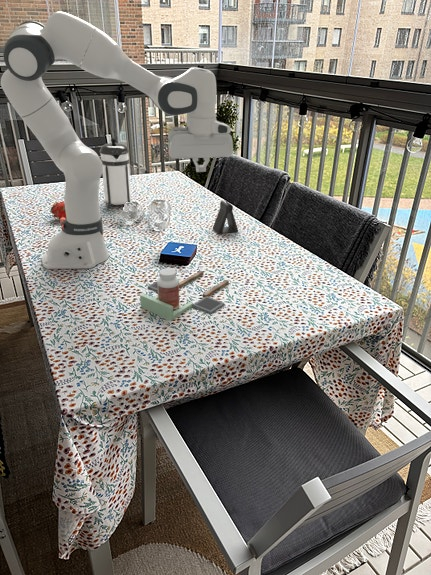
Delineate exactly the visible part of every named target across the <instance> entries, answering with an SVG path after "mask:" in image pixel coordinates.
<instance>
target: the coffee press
mask: <svg viewBox="0 0 431 575" xmlns="http://www.w3.org/2000/svg"><path fill="white" fill-rule="evenodd" d="M110 141H111V142H108V143H105V144H103V145H101V147H100V149H99V154H100V159H101V161H102V164H103V173H102V182H103V192H104V193H103V194H104V201H105V203H107V205H106V208H107V209H112V207H113V205H115V206H116V205H117V206H118V205H119V206H120V205H125V204H124V203H126V202H131V201H132V193H131V192H132V190H131V188H132V186H131V176H130V175H131V174H130V173H131V172H130V158H129V156H130V155H129V153H130V149H129V148H128V146H127V145H125V144H123V143H118V142H117V139H116V138H115V137H112V138H111V139H110Z"/></svg>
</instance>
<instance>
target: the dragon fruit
mask: <svg viewBox="0 0 431 575" xmlns="http://www.w3.org/2000/svg"><path fill="white" fill-rule="evenodd" d="M49 212H50V214H52V215H51V216H52V218H54V219H57V218H58V220H59V221H60V219H61V218H62V217H64V218H65V219H67V218H66V210H65V203H64V200H63V201H59V202H58V201H56V202H55V203H54V204H52V206H51V207H50V210H49Z"/></svg>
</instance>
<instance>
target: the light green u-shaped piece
mask: <svg viewBox="0 0 431 575" xmlns="http://www.w3.org/2000/svg"><path fill="white" fill-rule="evenodd" d="M139 299H140V308H142V309H144V310H146V311H149V312H150V313H153V314H154V315H157V316H159V317H162V318H164V319H166V320H168V321H172V320H174V319H175V318H177V317H179V316H180V315H182V314H183V313H185V312H187V311H189V309H191V308H192V307H193V304H194V302H192V301H189V302H187V303H186V304H183V305H182V306H181V307H178V308H177V309H175V311H174V310H173V306H171V305H169V304H166V303H164V302H162V301H159V300H158V294H156V295H154V296H150V295H147V294H146V293H141V294H140V295H139ZM193 308H194V307H193Z"/></svg>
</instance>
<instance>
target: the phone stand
mask: <svg viewBox="0 0 431 575" xmlns="http://www.w3.org/2000/svg"><path fill="white" fill-rule="evenodd" d="M219 202H220V203H219V210H218V212H217V215H216V218H215V221H214V224H213V226H212V230H213V231H214V232H215V233H217V234H218V235H224V234H232V233H238V232H239V229H238V228H239V227H238V225H237V222H236V218H235V216H234V212H233V211H234V207H233V205H232V204H231V203H229V202H228V201H227V200H221V201H219ZM226 222H227V225H228V226H225V225H226Z"/></svg>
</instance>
